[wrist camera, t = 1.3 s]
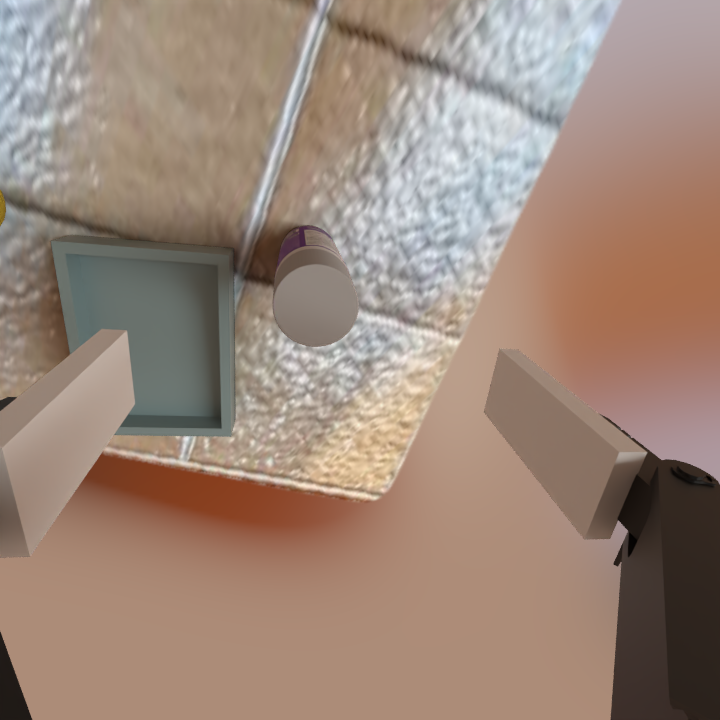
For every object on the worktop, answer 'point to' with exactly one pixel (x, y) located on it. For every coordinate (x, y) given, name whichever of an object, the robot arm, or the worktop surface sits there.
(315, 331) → the container
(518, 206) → the worktop surface
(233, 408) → the tray
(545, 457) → the robot arm
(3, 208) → the lemon
